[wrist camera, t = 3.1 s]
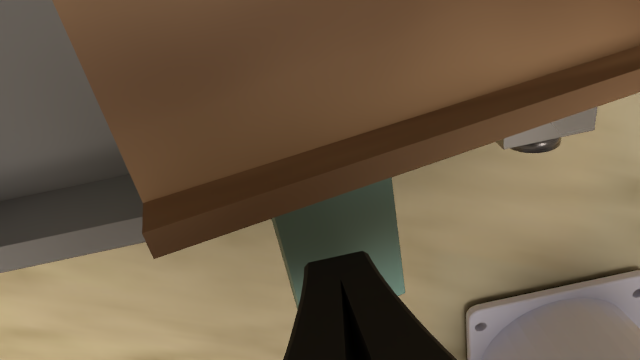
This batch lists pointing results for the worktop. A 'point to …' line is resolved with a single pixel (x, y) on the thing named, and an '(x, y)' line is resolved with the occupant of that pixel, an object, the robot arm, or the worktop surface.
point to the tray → (55, 149)
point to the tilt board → (330, 104)
